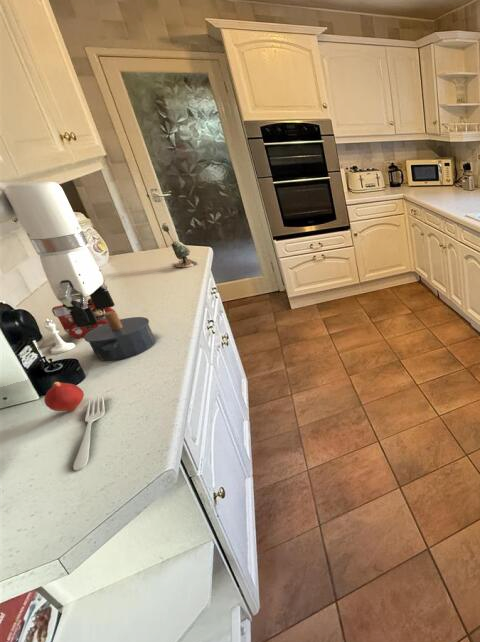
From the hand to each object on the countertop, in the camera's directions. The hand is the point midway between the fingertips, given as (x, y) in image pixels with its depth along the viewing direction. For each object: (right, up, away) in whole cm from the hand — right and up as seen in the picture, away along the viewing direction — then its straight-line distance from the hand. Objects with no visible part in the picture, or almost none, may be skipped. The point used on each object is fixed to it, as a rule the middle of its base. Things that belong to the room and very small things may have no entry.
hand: (97, 316), depth 88 cm
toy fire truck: (-40, -8, +37) cm, 54 cm away
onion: (-8, -22, +2) cm, 24 cm away
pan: (-19, -12, +26) cm, 34 cm away
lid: (-19, -6, +23) cm, 30 cm away
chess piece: (-38, -12, +27) cm, 48 cm away
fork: (+4, -25, -5) cm, 26 cm away
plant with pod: (-55, +16, +91) cm, 108 cm away
